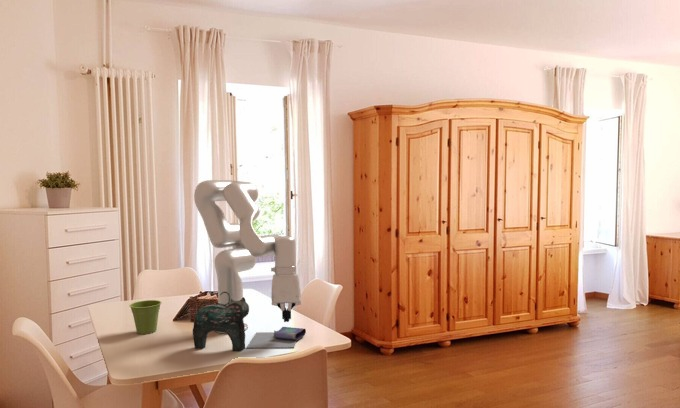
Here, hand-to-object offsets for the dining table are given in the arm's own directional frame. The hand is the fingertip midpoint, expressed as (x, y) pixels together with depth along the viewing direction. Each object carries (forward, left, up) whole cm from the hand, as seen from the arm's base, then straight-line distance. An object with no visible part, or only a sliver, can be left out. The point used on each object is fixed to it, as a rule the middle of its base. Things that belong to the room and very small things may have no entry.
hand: (286, 320), depth 182 cm
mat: (-5, 0, -7) cm, 9 cm away
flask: (+5, +1, -5) cm, 7 cm away
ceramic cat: (-22, -9, -7) cm, 25 cm away
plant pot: (-57, +13, -7) cm, 59 cm away
